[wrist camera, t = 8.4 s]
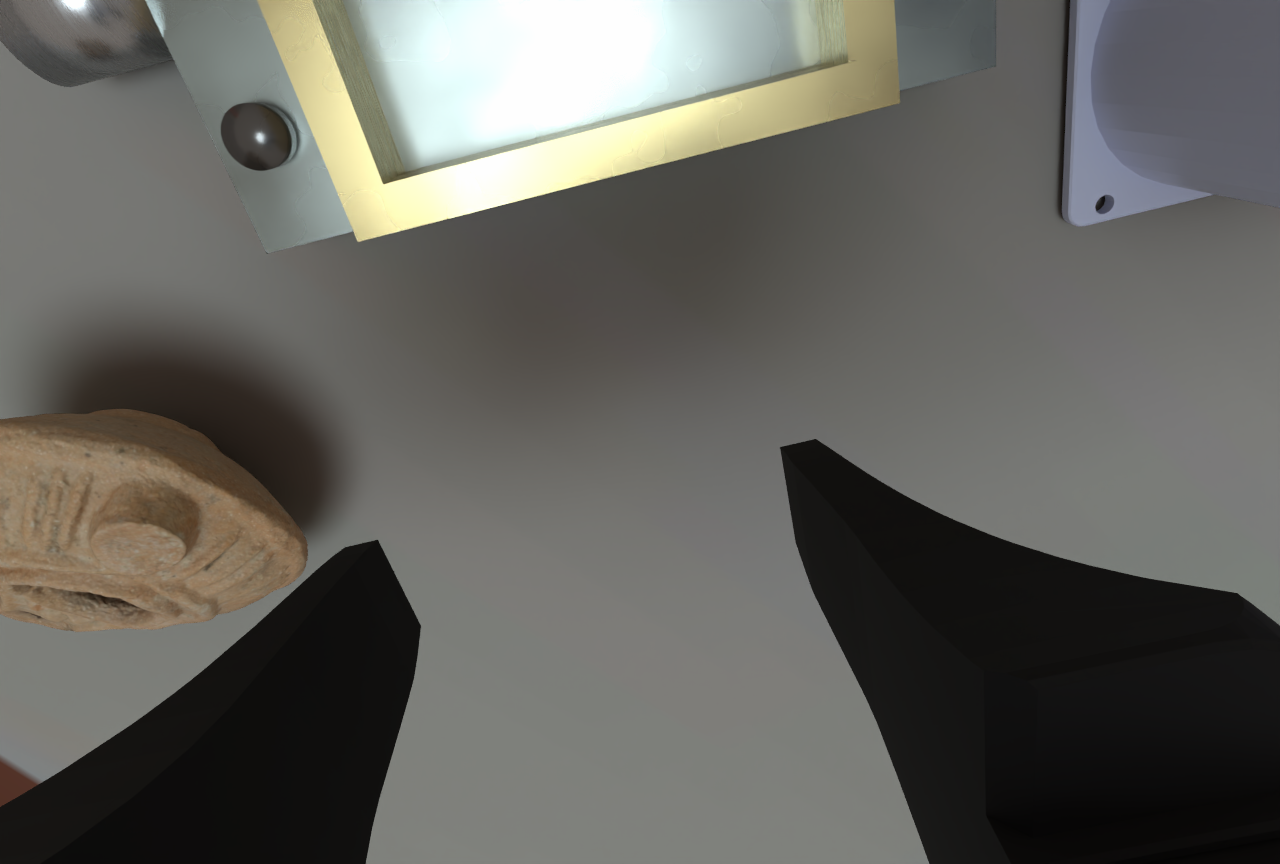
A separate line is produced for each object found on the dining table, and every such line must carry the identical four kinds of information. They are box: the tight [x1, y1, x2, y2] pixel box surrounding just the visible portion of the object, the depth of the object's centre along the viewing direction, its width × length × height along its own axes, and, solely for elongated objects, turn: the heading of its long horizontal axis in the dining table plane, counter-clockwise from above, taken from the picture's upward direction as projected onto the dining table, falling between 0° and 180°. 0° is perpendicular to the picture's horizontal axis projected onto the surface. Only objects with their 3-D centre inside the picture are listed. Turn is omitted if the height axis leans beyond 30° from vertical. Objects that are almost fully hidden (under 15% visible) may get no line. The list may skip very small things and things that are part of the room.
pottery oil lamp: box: [0, 409, 308, 632], centre depth 20 cm, size 9×12×7 cm
